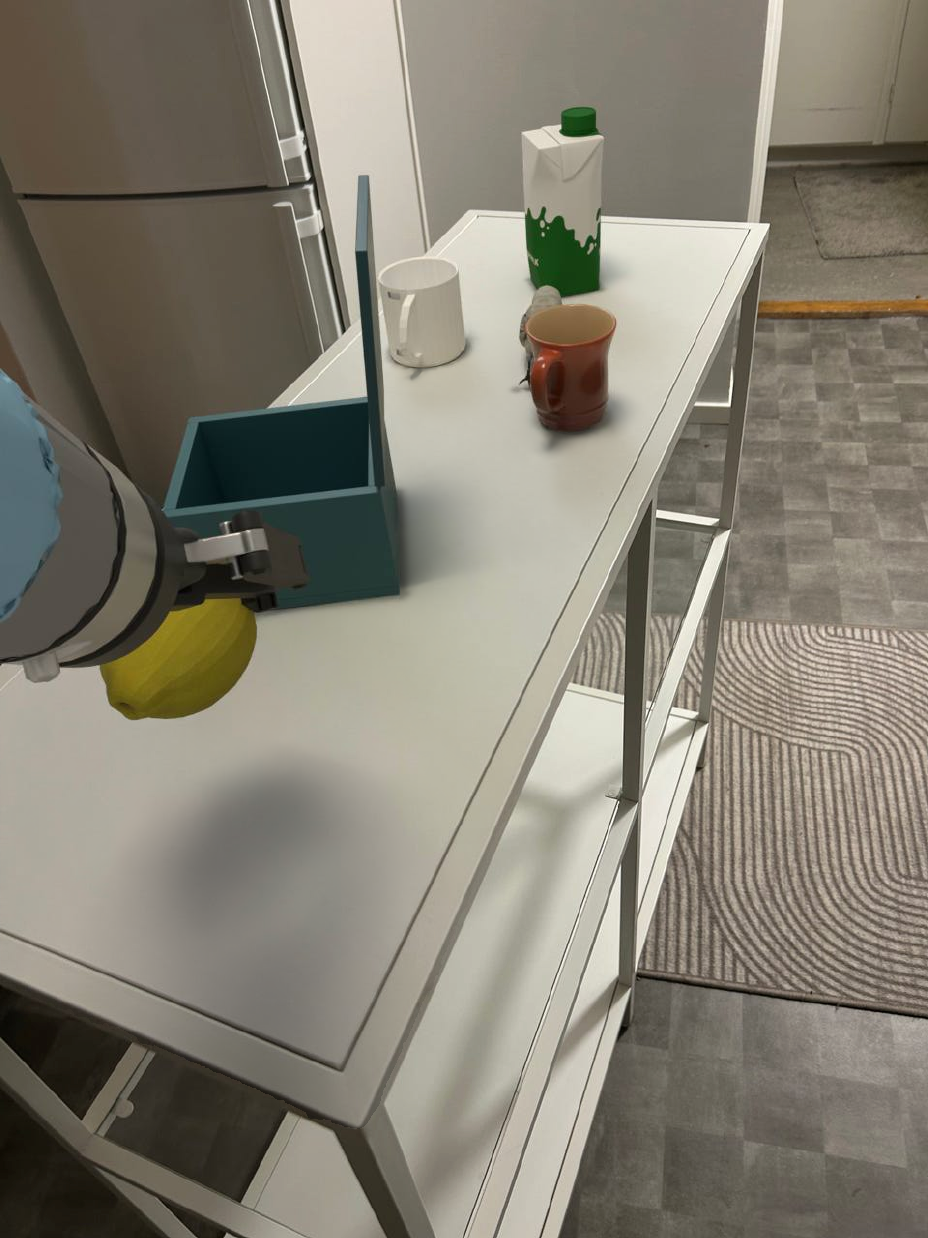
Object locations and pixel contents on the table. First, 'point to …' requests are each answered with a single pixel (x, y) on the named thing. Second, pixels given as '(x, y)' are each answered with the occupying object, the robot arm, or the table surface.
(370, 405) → the lid
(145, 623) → the robot arm
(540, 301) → the decorative bird
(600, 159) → the soya milk
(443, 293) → the mug
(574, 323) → the mug
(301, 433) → the teal box
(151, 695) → the lemon
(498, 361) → the table surface
